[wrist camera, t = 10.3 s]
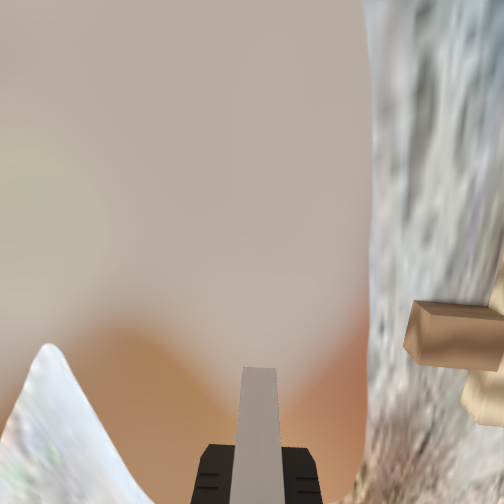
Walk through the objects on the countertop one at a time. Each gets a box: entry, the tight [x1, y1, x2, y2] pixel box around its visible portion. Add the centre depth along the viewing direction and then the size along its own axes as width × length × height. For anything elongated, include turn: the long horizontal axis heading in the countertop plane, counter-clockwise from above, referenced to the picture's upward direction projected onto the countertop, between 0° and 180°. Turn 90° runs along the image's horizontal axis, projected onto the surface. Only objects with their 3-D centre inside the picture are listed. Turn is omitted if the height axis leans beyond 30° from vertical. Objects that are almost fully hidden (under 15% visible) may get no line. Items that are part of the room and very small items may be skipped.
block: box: [403, 301, 504, 372], centre depth 38 cm, size 7×10×4 cm
